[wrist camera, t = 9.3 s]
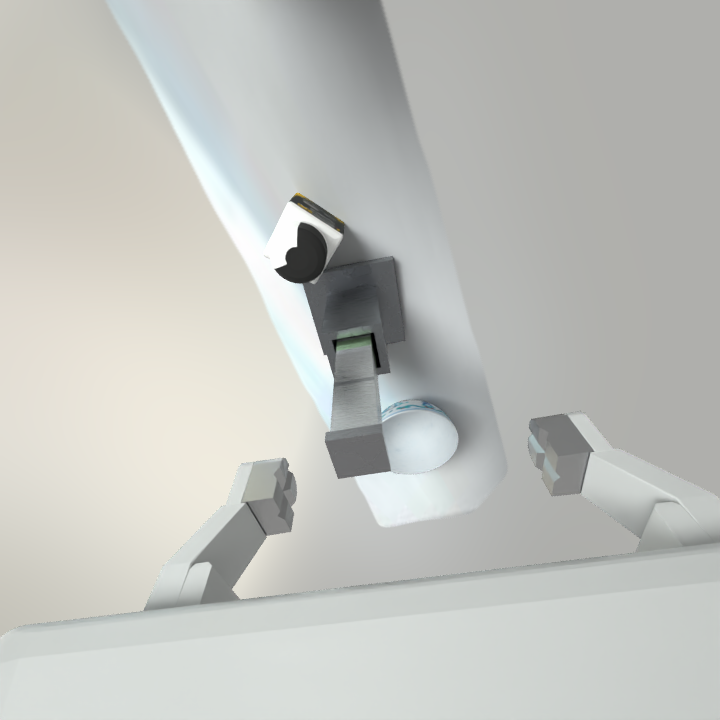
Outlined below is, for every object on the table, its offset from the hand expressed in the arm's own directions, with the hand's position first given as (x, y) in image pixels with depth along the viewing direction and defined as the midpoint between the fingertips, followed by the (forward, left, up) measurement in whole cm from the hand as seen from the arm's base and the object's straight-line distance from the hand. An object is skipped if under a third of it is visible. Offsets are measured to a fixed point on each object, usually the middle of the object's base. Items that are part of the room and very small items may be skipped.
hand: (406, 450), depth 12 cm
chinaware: (+36, +1, -41) cm, 55 cm away
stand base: (+13, -4, -41) cm, 43 cm away
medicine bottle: (+1, -8, -41) cm, 42 cm away
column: (+13, -4, -34) cm, 36 cm away
